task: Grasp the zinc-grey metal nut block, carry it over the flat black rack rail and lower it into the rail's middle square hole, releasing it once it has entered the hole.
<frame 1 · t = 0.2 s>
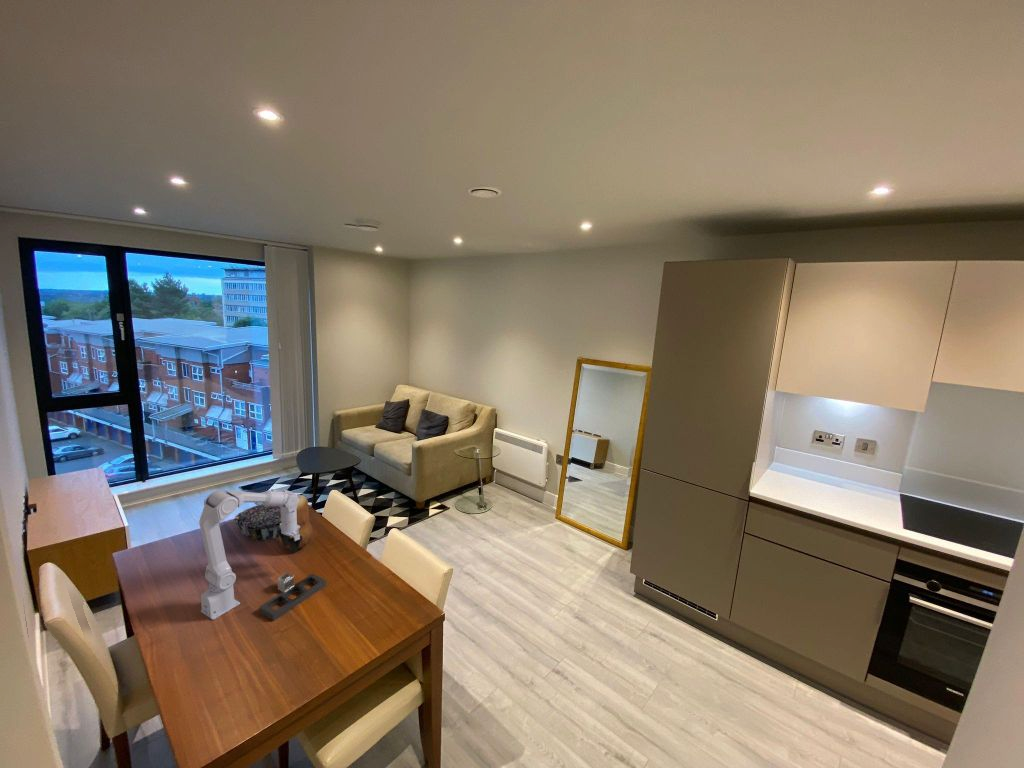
hand: (290, 549, 172), 10 cm above the table, fingers open, 7 cm apart
decorative bowl: (267, 530, 203), on the table
butternut squash: (297, 547, 190), on the table
rack rail: (294, 598, 158), on the table
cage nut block: (286, 588, 163), on the table
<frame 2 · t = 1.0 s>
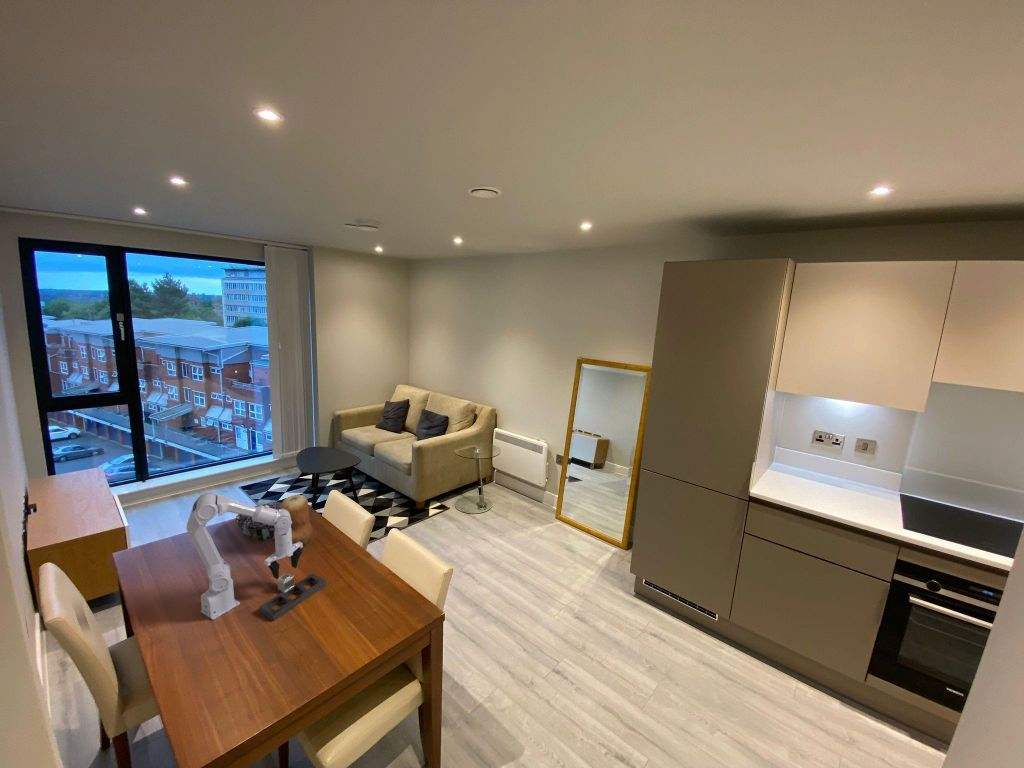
hand: (285, 572, 162), 7 cm above the table, fingers open, 7 cm apart
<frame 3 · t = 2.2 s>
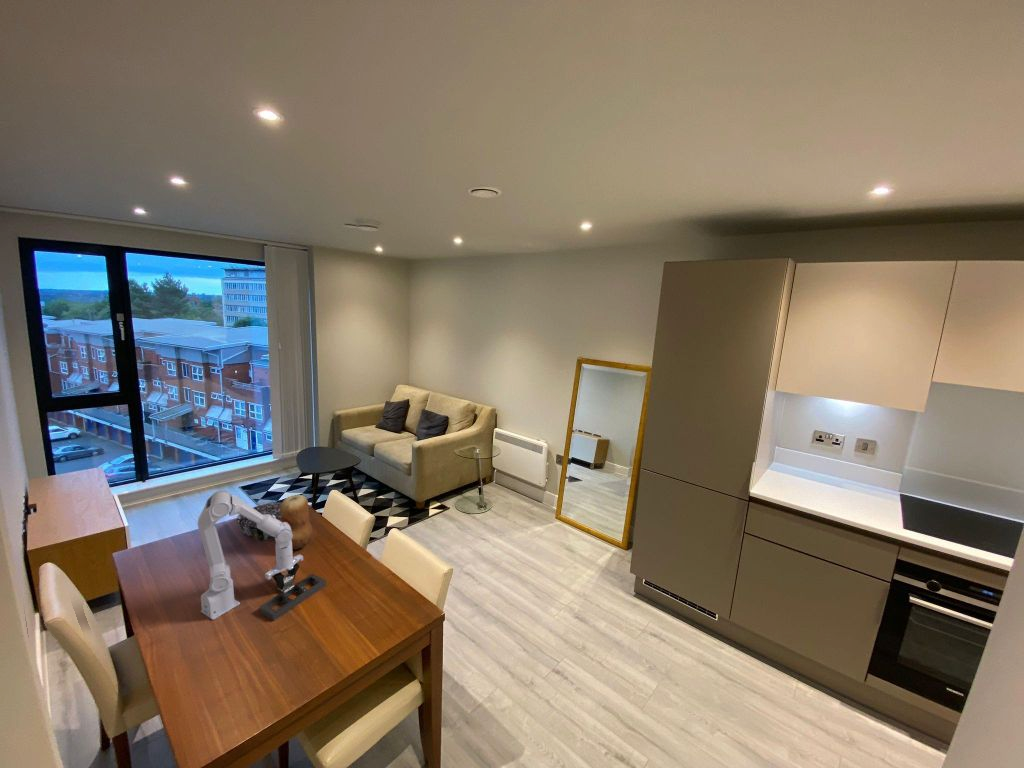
hand: (285, 585, 163), 1 cm above the table, fingers closed on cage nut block, 4 cm apart
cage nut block: (286, 588, 163), on the table, touching gripper
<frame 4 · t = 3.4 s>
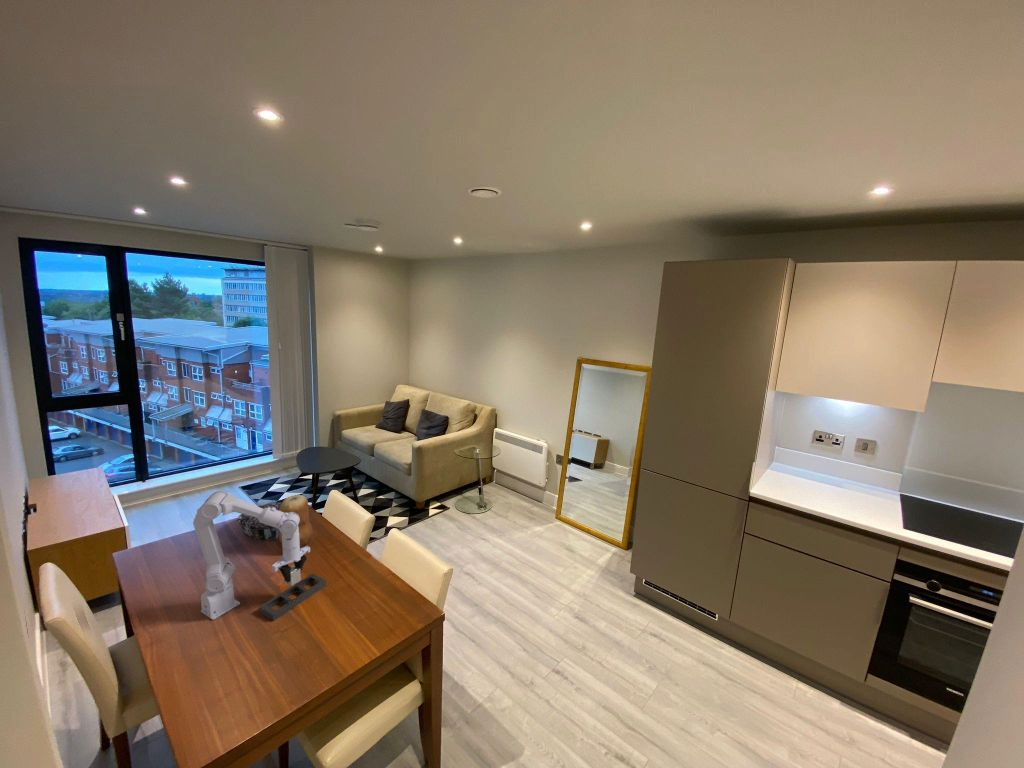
hand: (292, 577, 157), 8 cm above the table, fingers closed on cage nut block, 4 cm apart
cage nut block: (292, 581, 158), point 7 cm above the table, touching gripper
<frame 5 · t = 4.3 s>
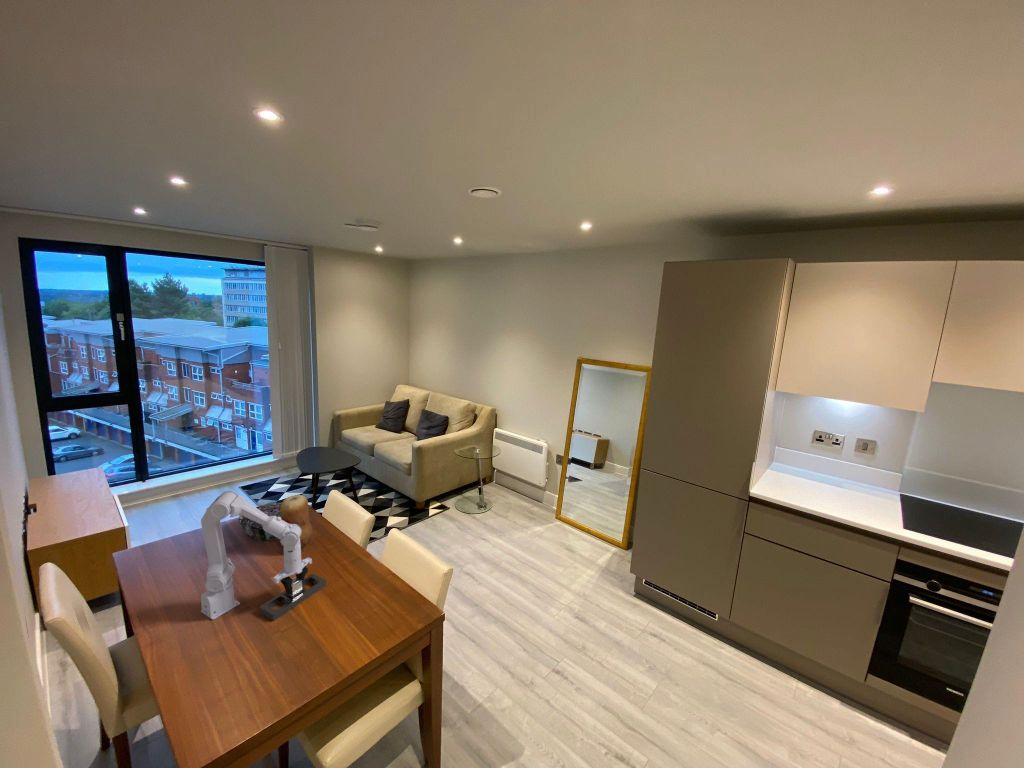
hand: (294, 589, 157), 4 cm above the table, fingers closed on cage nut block, 4 cm apart
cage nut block: (294, 592, 158), point 2 cm above the table, touching gripper
when the fingers open (3 cm above the table, at t = 4.9 s): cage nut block drops 2 cm, resting in rack rail.
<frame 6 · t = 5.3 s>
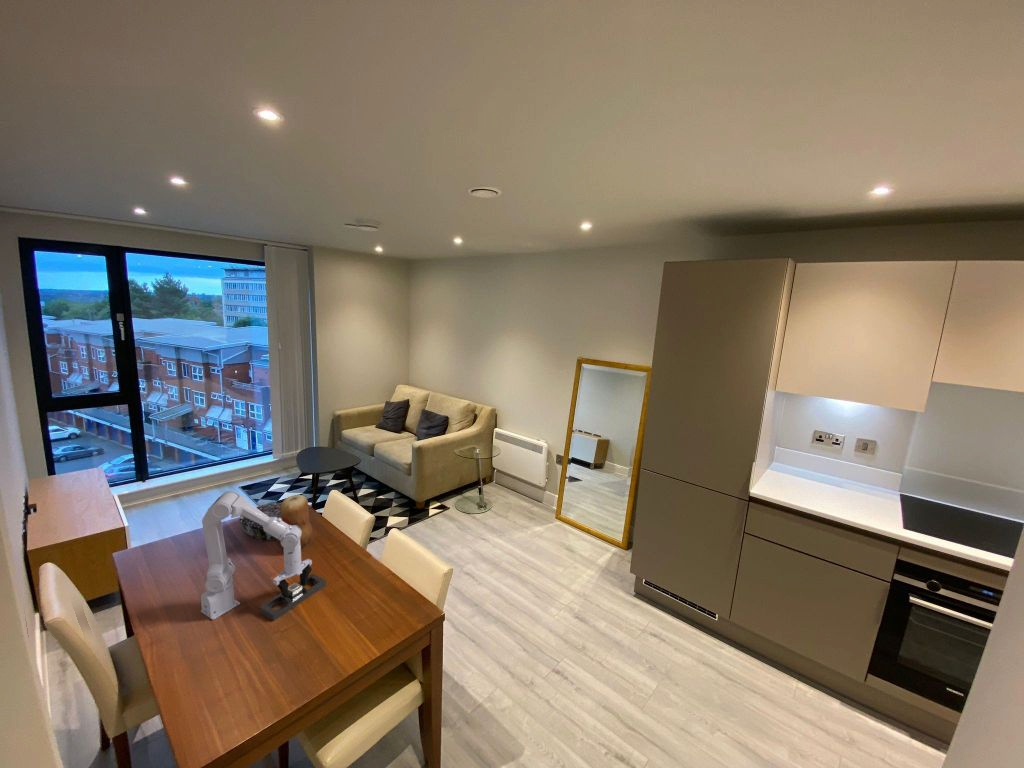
hand: (294, 590, 158), 3 cm above the table, fingers open, 7 cm apart
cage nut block: (294, 598, 158), resting in rack rail
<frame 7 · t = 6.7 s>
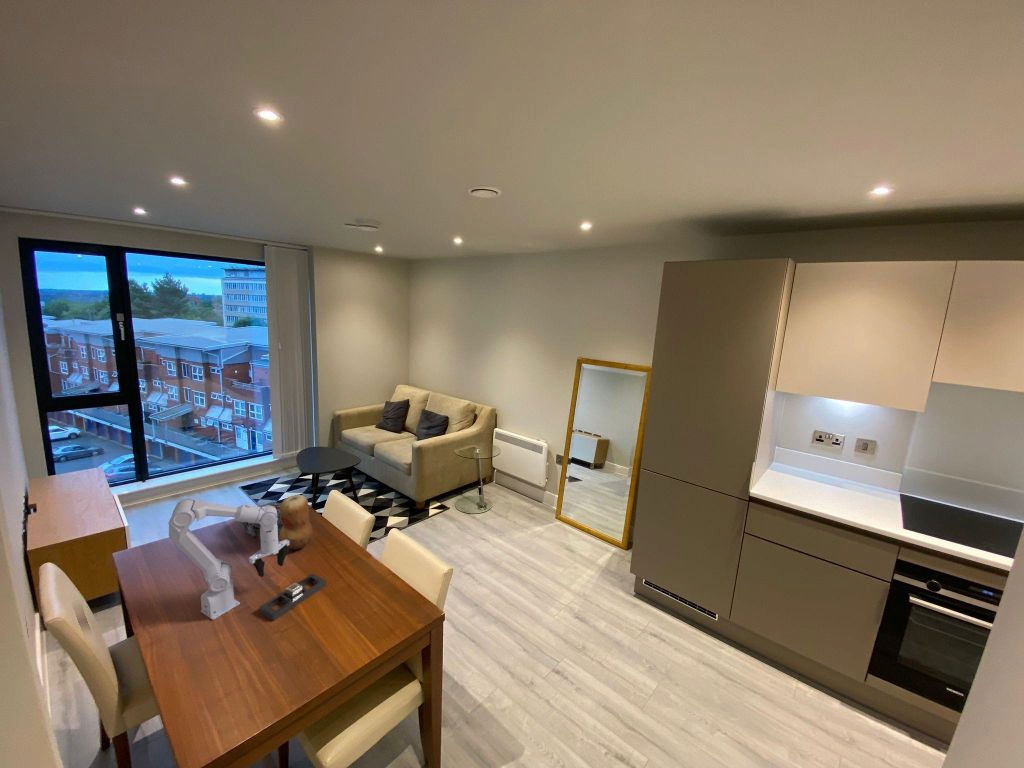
hand: (270, 570, 158), 10 cm above the table, fingers open, 7 cm apart
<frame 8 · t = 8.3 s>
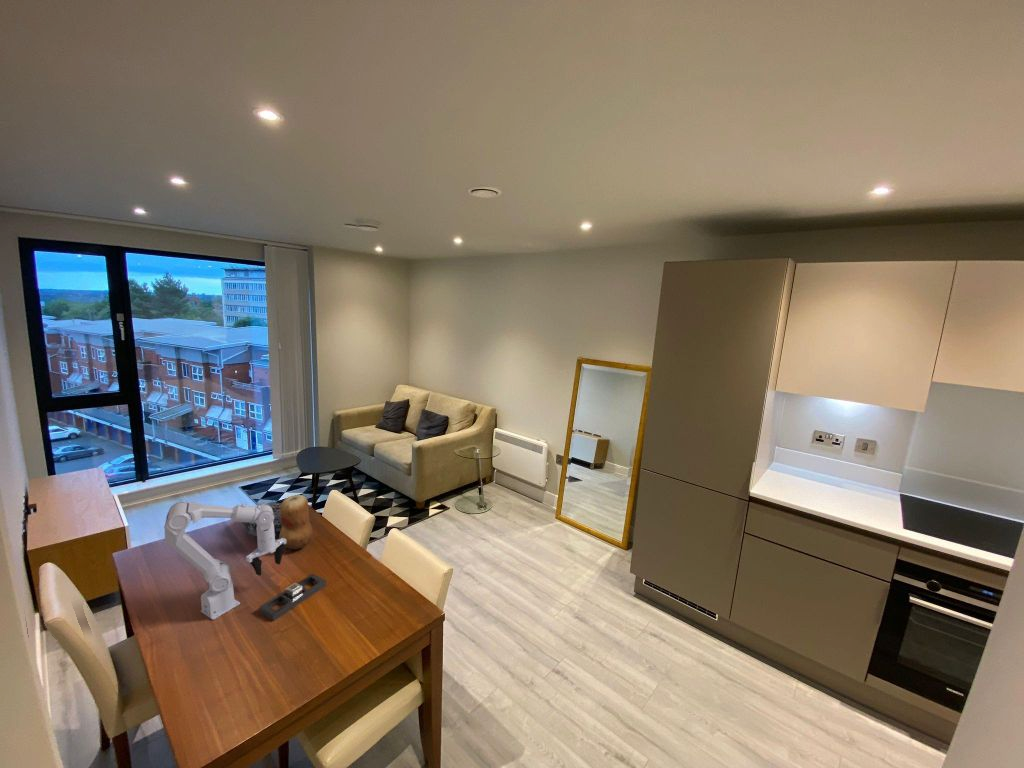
hand: (268, 568, 159), 10 cm above the table, fingers open, 7 cm apart
at the end: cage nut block 0.1 cm off-centre on the rack rail, point 0.0 cm above the rack rail's base; the gripper is holding nothing; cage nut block tilted 0° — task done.
